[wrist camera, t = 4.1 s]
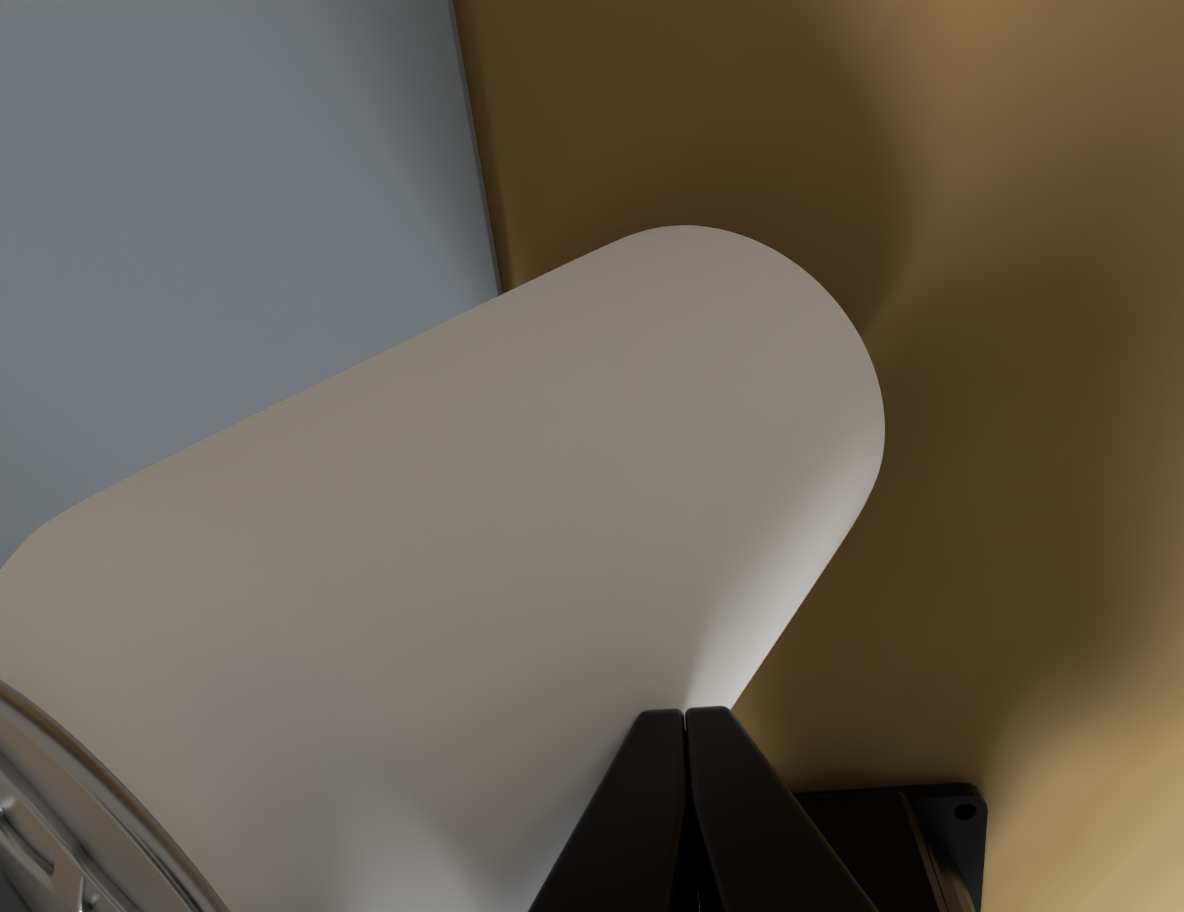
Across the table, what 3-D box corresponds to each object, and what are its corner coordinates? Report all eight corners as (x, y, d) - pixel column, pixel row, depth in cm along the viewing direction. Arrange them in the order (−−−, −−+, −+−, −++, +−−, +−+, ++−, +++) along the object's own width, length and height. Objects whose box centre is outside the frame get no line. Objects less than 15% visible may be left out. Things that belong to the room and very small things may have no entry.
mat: (568, 676, 21) (566, 690, 21) (-10, 718, 23) (-22, 733, 22) (426, -151, 15) (420, -156, 14) (-385, -23, 16) (-416, -24, 15)
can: (764, 622, 18) (287, 1295, 9) (512, 416, 19) (-125, 832, 10) (982, 380, 14) (497, 1174, 5) (645, 137, 15) (-224, 433, 6)
